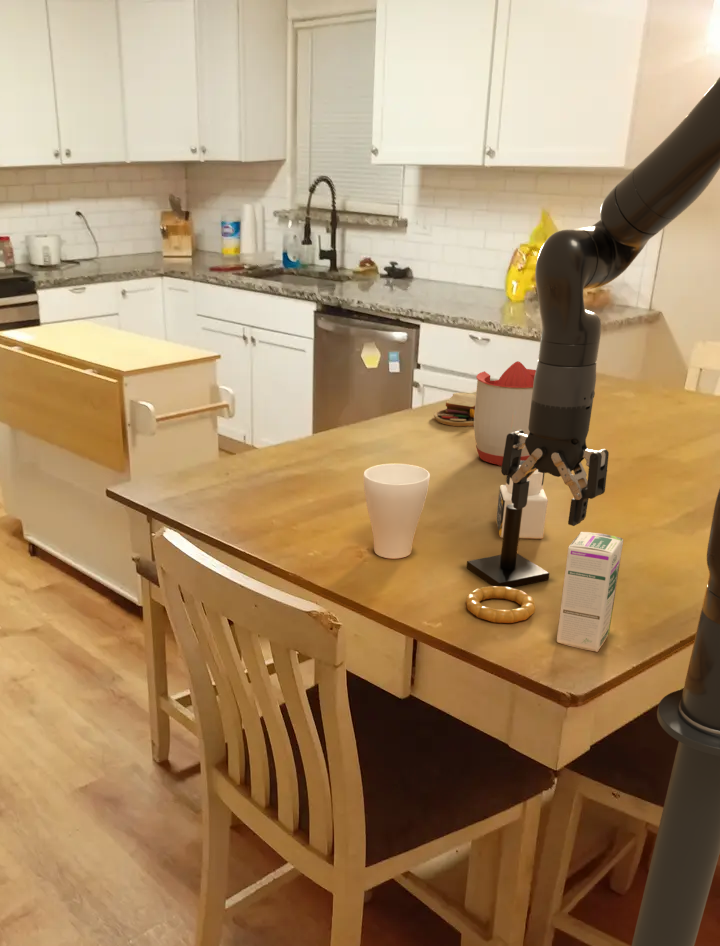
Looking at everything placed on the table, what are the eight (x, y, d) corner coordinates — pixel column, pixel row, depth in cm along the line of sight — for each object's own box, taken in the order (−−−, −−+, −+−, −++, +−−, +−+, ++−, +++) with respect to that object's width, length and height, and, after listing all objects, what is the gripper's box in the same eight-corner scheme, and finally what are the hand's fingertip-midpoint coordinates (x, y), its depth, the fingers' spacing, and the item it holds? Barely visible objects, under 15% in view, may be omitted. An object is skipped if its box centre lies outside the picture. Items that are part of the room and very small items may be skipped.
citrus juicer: (514, 441, 208) (524, 348, 198) (562, 464, 193) (575, 365, 184) (451, 450, 204) (458, 355, 194) (494, 474, 189) (505, 373, 180)
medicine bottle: (495, 522, 167) (502, 456, 161) (537, 523, 166) (545, 457, 160) (499, 538, 161) (507, 470, 155) (543, 539, 160) (552, 471, 154)
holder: (548, 579, 146) (558, 511, 141) (498, 590, 143) (506, 521, 138) (514, 558, 154) (522, 492, 148) (466, 567, 151) (472, 501, 146)
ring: (547, 617, 135) (549, 606, 134) (490, 630, 132) (491, 618, 132) (508, 590, 143) (509, 579, 142) (453, 602, 140) (454, 591, 140)
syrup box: (598, 653, 126) (615, 552, 119) (553, 642, 129) (568, 544, 122) (609, 635, 130) (626, 537, 123) (565, 625, 133) (580, 529, 126)
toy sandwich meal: (423, 422, 223) (424, 402, 221) (450, 409, 233) (452, 390, 230) (472, 430, 216) (474, 409, 214) (498, 416, 226) (500, 396, 223)
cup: (358, 540, 162) (360, 463, 156) (420, 539, 162) (425, 462, 155) (363, 565, 153) (366, 485, 147) (428, 564, 153) (434, 484, 146)
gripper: (498, 392, 124) (486, 509, 132) (597, 412, 114) (578, 537, 122) (531, 382, 128) (518, 496, 136) (629, 400, 119) (609, 522, 126)
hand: (546, 515), depth 129 cm, fingers open, 8 cm apart
